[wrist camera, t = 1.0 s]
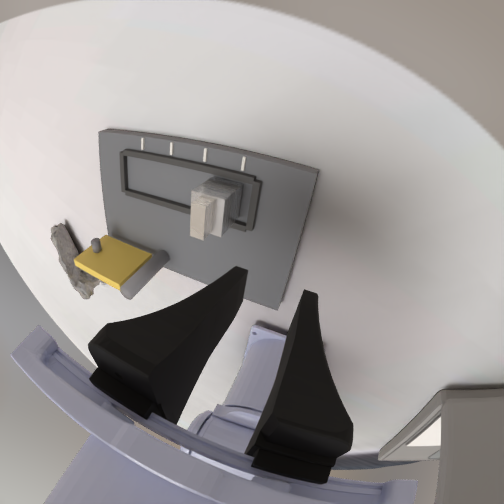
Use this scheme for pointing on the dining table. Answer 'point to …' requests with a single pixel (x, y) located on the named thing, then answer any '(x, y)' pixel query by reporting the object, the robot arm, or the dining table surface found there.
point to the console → (179, 209)
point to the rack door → (111, 260)
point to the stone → (72, 262)
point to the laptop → (458, 445)
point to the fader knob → (214, 207)
